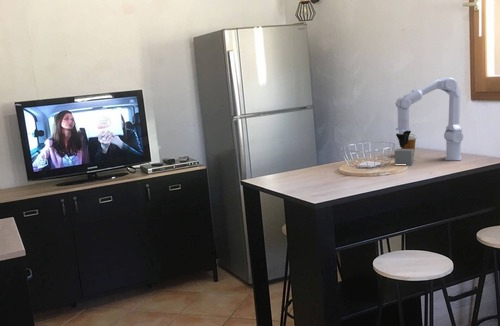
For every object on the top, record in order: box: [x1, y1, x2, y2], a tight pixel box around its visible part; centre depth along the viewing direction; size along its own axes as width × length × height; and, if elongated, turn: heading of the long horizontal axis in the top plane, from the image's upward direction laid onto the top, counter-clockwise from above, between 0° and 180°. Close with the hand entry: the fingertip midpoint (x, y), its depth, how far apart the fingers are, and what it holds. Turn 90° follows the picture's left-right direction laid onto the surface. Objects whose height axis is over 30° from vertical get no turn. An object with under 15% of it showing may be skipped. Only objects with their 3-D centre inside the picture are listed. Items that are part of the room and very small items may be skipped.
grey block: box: [394, 148, 415, 166], centre depth 284 cm, size 6×9×8 cm
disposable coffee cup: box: [400, 133, 417, 151], centre depth 303 cm, size 10×10×12 cm
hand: (403, 145), depth 282 cm, fingers open, 7 cm apart
